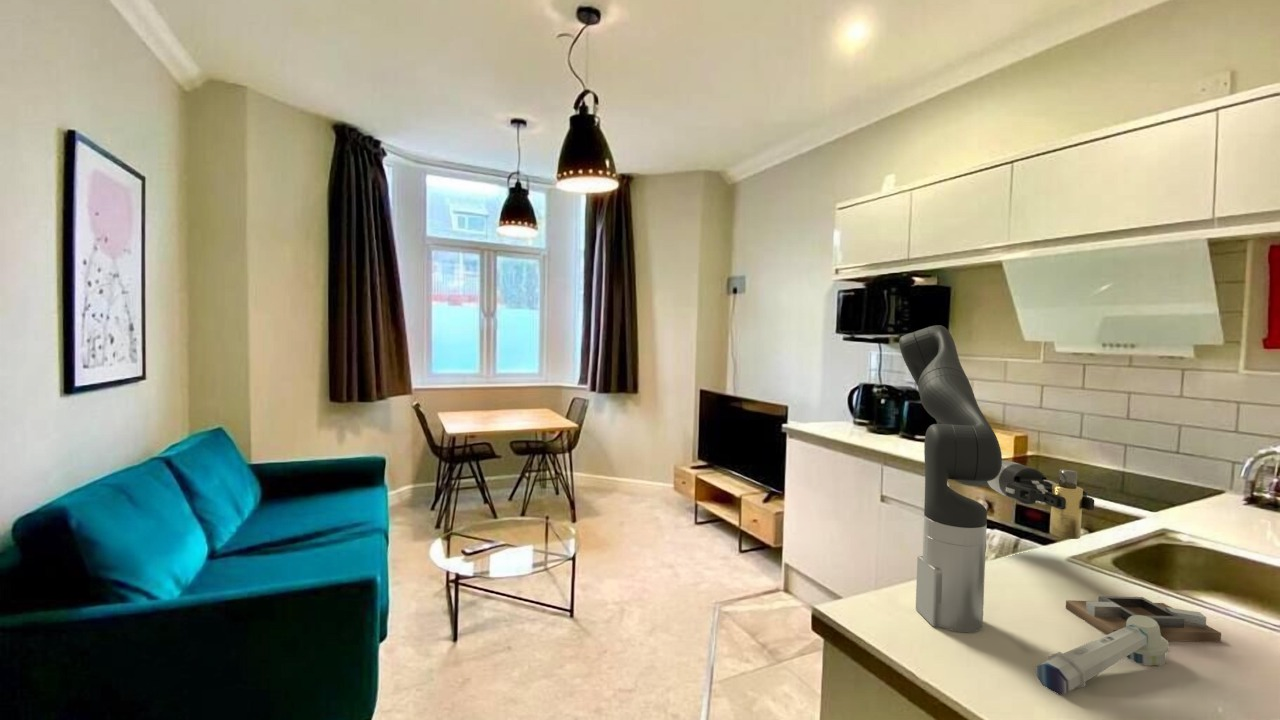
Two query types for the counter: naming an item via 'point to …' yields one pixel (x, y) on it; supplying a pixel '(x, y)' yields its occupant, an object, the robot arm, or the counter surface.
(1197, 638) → the walnut plate
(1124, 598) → the collar and shafts
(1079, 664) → the grey long angled piece
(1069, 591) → the counter surface
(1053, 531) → the gold perfume bottle
